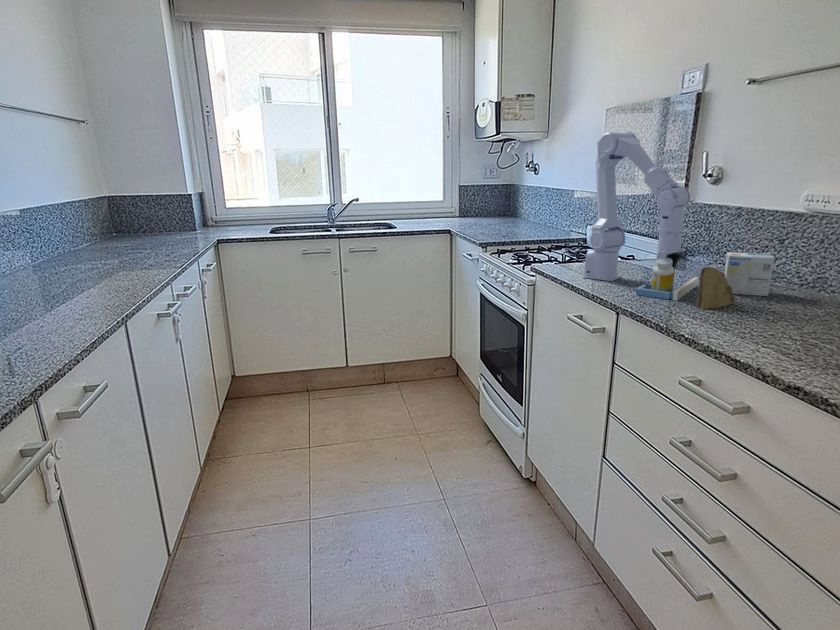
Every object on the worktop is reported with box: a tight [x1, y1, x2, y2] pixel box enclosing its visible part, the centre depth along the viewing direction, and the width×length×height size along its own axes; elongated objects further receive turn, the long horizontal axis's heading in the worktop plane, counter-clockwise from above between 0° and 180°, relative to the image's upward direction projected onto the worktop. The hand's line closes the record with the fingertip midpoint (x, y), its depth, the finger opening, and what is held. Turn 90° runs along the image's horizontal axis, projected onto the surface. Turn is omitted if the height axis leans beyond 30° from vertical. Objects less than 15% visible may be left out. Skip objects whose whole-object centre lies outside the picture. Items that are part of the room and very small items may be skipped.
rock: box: [696, 267, 736, 310], centre depth 128 cm, size 11×9×10 cm
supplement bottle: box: [650, 257, 675, 293], centre depth 141 cm, size 5×5×10 cm
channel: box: [635, 276, 699, 302], centre depth 145 cm, size 11×21×2 cm, turn 139°
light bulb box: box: [723, 251, 775, 297], centre depth 140 cm, size 11×7×11 cm, turn 65°
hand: (666, 280), depth 143 cm, fingers closed, pressing on supplement bottle
